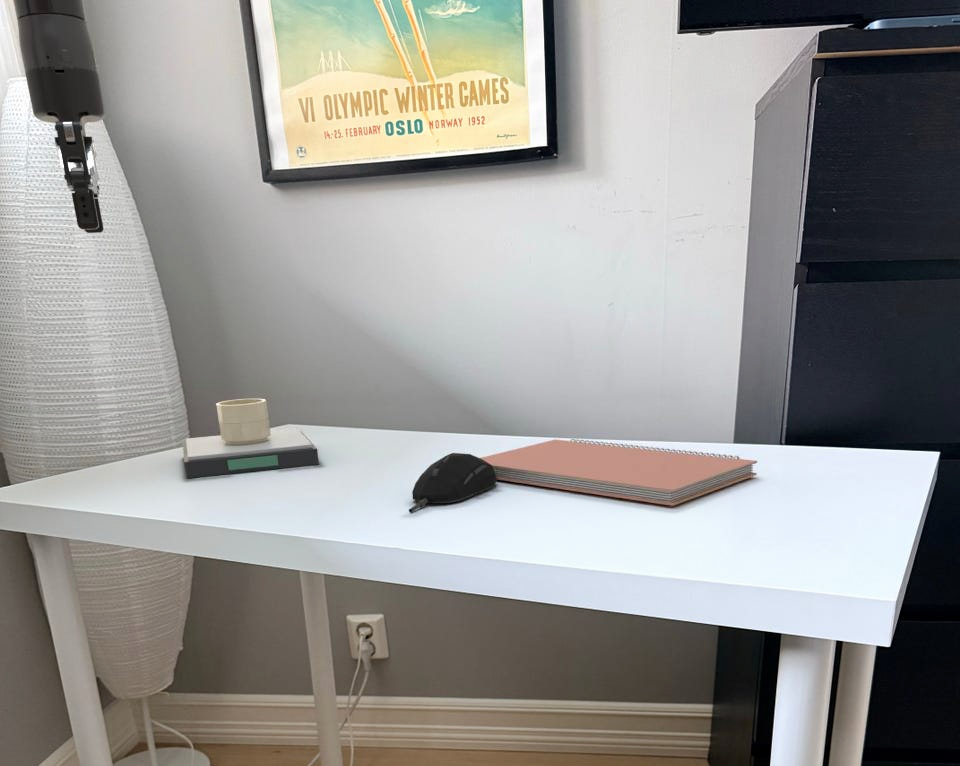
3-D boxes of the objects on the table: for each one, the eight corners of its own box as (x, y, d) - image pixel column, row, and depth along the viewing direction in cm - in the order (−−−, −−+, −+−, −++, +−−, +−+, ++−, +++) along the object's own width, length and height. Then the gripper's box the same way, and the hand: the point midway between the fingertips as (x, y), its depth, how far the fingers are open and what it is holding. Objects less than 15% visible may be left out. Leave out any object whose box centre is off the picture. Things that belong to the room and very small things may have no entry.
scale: (186, 479, 112) (183, 458, 111) (185, 456, 126) (181, 438, 125) (319, 464, 116) (317, 444, 115) (302, 445, 130) (300, 427, 129)
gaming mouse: (383, 510, 92) (379, 470, 90) (457, 479, 104) (455, 443, 102) (438, 515, 89) (435, 473, 87) (507, 482, 101) (506, 445, 99)
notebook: (761, 475, 98) (762, 456, 97) (672, 508, 87) (673, 487, 86) (560, 452, 116) (560, 435, 115) (466, 476, 104) (465, 459, 104)
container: (223, 447, 117) (217, 406, 115) (220, 440, 122) (215, 401, 120) (273, 442, 118) (267, 402, 116) (268, 435, 124) (263, 397, 122)
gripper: (33, 83, 107) (63, 235, 113) (15, 55, 95) (50, 229, 101) (102, 83, 109) (128, 233, 115) (93, 56, 97) (123, 226, 103)
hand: (91, 231), depth 108 cm, fingers open, 8 cm apart
